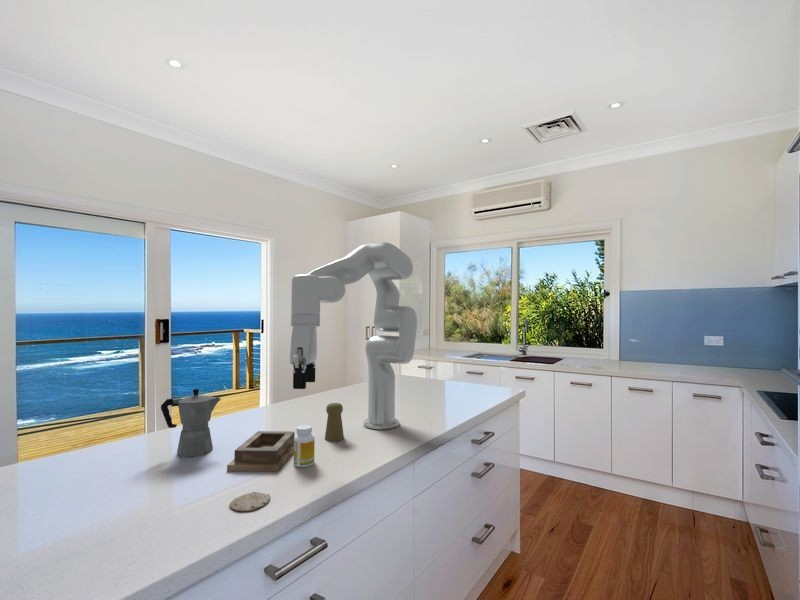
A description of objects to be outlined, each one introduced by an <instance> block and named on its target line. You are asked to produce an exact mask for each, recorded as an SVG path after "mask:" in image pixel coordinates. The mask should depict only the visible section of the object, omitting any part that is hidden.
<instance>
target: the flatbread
mask: <svg viewBox="0 0 800 600" xmlns="http://www.w3.org/2000/svg"><path fill="white" fill-rule="evenodd" d="M270 500H271V494H269V493H264V492H261V491H260V492H259V491H252V492H248V493H245V494H242V495H240V496H237V497H235V498H233V500H232V501H230V503H229V507H230V509H232V510H233V511H237V512H251V511H254V510H258V509H259V508H262V507H264V506H266V504H268V503H269V501H270Z"/></svg>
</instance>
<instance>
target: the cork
mask: <svg viewBox="0 0 800 600" xmlns="http://www.w3.org/2000/svg"><path fill="white" fill-rule="evenodd" d="M325 411H326V414H327V418H326V419H327V420H326V428H325V435H324V440H325V441H327V442H341V441H342V440H344V439H345V436H344V427H343V419H342V413H343V411H344V408H343V404H341V403H339V402H332V403H329V404H327V405H326V408H325Z"/></svg>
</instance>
